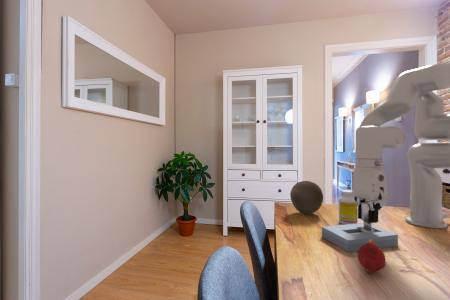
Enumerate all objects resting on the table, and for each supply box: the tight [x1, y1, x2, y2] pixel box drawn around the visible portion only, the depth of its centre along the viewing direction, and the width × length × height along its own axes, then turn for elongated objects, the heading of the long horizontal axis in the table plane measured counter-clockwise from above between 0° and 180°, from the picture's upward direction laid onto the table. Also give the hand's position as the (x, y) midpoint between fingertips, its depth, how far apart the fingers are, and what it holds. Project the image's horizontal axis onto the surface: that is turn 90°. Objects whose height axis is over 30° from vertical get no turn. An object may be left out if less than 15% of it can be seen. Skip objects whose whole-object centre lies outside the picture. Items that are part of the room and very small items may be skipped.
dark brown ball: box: [289, 180, 324, 215], centre depth 107 cm, size 14×14×15 cm
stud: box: [360, 201, 375, 233], centre depth 77 cm, size 4×4×10 cm
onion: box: [356, 239, 386, 274], centre depth 57 cm, size 6×6×8 cm
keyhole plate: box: [321, 222, 399, 253], centre depth 77 cm, size 18×12×3 cm, turn 103°
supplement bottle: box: [338, 189, 358, 225], centre depth 94 cm, size 7×7×13 cm
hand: (367, 219), depth 77 cm, fingers closed on stud, 3 cm apart
